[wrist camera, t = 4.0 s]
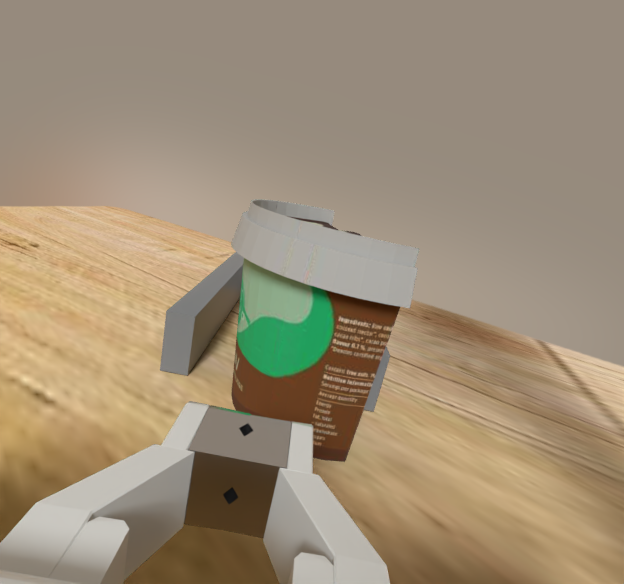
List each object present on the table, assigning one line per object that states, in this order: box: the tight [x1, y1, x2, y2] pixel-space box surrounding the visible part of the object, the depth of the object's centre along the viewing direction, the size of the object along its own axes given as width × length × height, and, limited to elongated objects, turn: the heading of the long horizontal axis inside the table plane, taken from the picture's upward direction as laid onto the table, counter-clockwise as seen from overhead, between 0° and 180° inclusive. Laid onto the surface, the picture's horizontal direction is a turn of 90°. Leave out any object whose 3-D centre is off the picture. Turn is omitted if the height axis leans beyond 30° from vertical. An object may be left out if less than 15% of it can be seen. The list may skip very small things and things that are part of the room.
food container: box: [231, 199, 419, 461], centre depth 19 cm, size 12×6×10 cm, turn 11°
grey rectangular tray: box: [160, 252, 390, 412], centre depth 29 cm, size 12×18×4 cm, turn 178°
